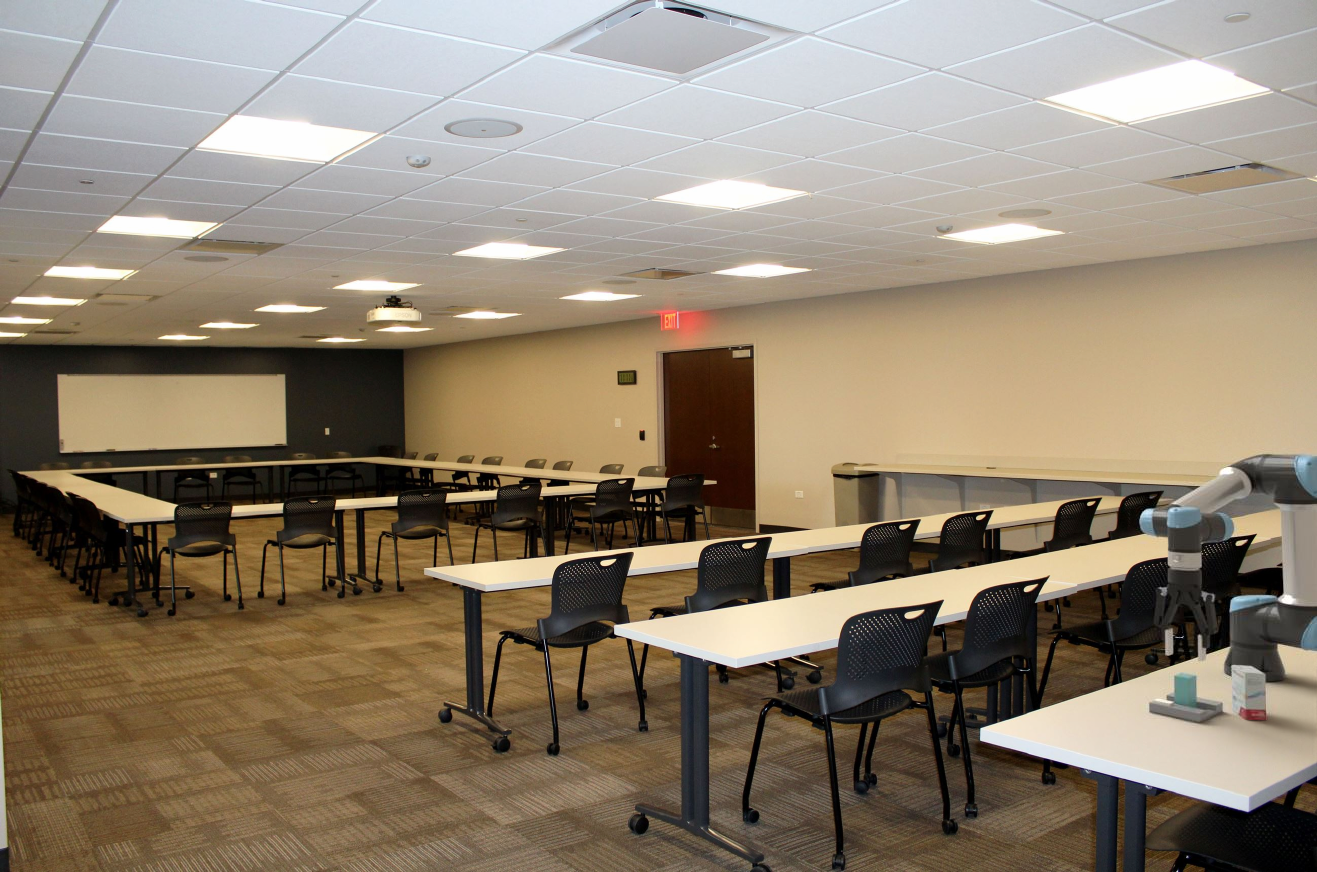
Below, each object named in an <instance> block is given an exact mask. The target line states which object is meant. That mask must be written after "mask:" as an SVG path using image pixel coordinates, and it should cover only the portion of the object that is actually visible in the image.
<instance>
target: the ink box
mask: <svg viewBox="0 0 1317 872" xmlns="http://www.w3.org/2000/svg"><path fill="white" fill-rule="evenodd" d="M1266 682H1267V681H1266V678H1265V674H1264V673H1262V672H1261V671H1259V670H1257V669H1256V668H1254V667H1252V666H1242V665H1232V676H1231V710H1232V711H1233V712H1235V713H1236V714H1237V715H1239V716H1240V717H1242V718H1243V719H1245V720H1247V721H1267V696H1266V695H1267V691H1266V690H1267V689H1266V688H1267V687H1266V685H1267V683H1266Z"/></svg>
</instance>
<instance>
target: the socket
mask: <svg viewBox="0 0 1317 872" xmlns="http://www.w3.org/2000/svg"><path fill="white" fill-rule="evenodd" d="M1223 707H1224V703H1223V701H1218V700H1212V699H1207V698H1202V697H1198V696H1197V708H1193V707H1188V706H1183V705H1179V704H1174V692H1171V693H1169V694H1166V699H1162V698H1156V699H1154V700H1152V701H1150V702H1148V708H1149V709H1148V710H1149V713H1152V714H1156V715H1161V716H1166V717H1170V718H1174V719H1179V720H1182V721H1183V720H1184V721H1189V722H1192V723H1197V724H1201V723H1203V722H1205V721H1207V720H1209V719H1211V718H1214V717H1215V716H1217V715H1219V714H1221V713H1223V712H1224V711H1223V710H1224V708H1223Z"/></svg>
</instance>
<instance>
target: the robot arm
mask: <svg viewBox="0 0 1317 872" xmlns="http://www.w3.org/2000/svg"><path fill="white" fill-rule="evenodd" d="M1254 495H1261V496H1263V495H1265V496H1273V504H1274V505H1275V506H1276V507H1278V508H1279V509H1280V527H1281V528H1280V529H1281V530H1280V531H1281V555H1282V558H1281V559H1282V580H1283V593H1282V595H1280V596H1279V597H1277V596H1275V595H1269V594H1266V595H1265V594H1255V595H1254V594H1251V595H1250V594H1249V595H1238V596H1235V597H1233V598H1232V599H1231V600H1230V606H1229V607H1230V608H1229V618H1230V619H1229V622H1230V625H1229V626H1230V627H1229V628H1230V634H1229V635H1230V647H1229V649H1228V652H1227V655H1226V657H1225V659H1224V663H1223V673H1225V674H1226V675H1228V676H1230V677H1232V665H1242V666H1252V667H1254V668H1256V669H1257V670H1259V671H1261V672H1262V673H1264V674H1265V678H1266V682H1280V681H1284V680H1285V679H1286V669H1285V666H1284V664H1283V661H1282V658H1281V656H1280V653H1279V647H1278V646H1279V645H1283V646H1286V647H1291V648H1295V649H1302V650H1304V651H1312V652H1317V455H1312V454H1311V455H1310V454H1273V453H1262V454H1256V455H1252V456H1249V457H1246V458H1243V459H1241V460H1239V461H1236V462H1235V463H1232V464H1230V465H1228V466H1226V467H1224V468H1223V469H1221V470H1220V471H1219V472H1218V475H1217V476H1216V477H1215V478H1213V479H1211V480H1210V481H1208V482H1206V483H1203V484H1202V485H1201V486H1199V487H1197V488H1196V489H1193V490H1192V491H1190V492H1189V493H1187V494H1185V495H1183V496H1182V497H1180V498H1178V499H1176V500H1175V501H1173V502H1171V503H1169V504H1168V505H1165V506H1164V507H1162V508H1156V507H1155V508H1146V509H1145V510H1144V511H1142V513H1141V515H1140V518H1139V526H1140V530H1141V531H1142V533H1143V534H1145V535H1146V536H1152V537H1156V538H1167V565H1168V566H1169V568H1167V583H1168V584H1167V586H1166V587H1161V586H1160V587H1157V588H1155V590H1154V591H1155V595H1156V601H1155V606H1154V607H1155V608H1154V618H1153V625H1154V626H1156V627H1159V628H1160V630H1161V642H1164V648H1165V650H1164V651H1165V654H1164V655H1165V656H1171V655H1174V629H1173V628H1171V625H1172V623H1173V619H1174V617H1175V614H1176V613H1177V610H1178V608H1179V606H1180V605H1185V606H1188V607H1189V609H1190V610H1191V611H1192V613H1193V616H1194V619H1195V621H1196V624H1197V626H1198V628H1199V631H1200V633H1199V634H1198V635H1197V654H1198V655H1197V657H1198V658H1197V660H1198V662H1203V661H1206V660H1207V649H1209V648H1210V645H1211V642H1210V640H1211V638H1210V636H1211V635H1214V634H1217V633H1218V632H1219V627H1218V620H1217V613H1216V608H1215V606H1216V605H1215V601H1216V594H1215V593H1213V592H1212V593H1208V592H1207V591H1204V590H1203V587H1202V585H1203V578H1202V577H1203V575H1202V574H1203V572H1202V569H1201V568H1202V561H1203V560H1202V544H1207V543H1220V542H1224V541H1227V540H1229V539H1231V538H1232V536H1233V534H1234V532H1235V524H1234V521H1233V519H1232V518H1231V517H1230V516H1229V515H1227V514H1226V513H1222V512H1215V511H1217V510H1219V509H1220V508H1222V507H1224V506H1225V505H1227V504H1229V503H1231V502H1232V501H1234V500H1241V499H1245V498H1246V497H1248V496H1254ZM1167 595H1169V596H1170V598H1171V600H1170V602H1169V606H1168V608H1167V610H1166V613H1165V607H1166V606H1165V605H1166V596H1167ZM1201 598H1203V601H1204V607H1205V613H1206V615H1205V614H1204V612H1203V610H1202V608H1201V607H1202V605H1201V603H1200V601H1199V600H1200V599H1201ZM1164 613H1165V615H1164ZM1205 617H1206V618H1205Z"/></svg>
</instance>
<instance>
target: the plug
mask: <svg viewBox="0 0 1317 872" xmlns="http://www.w3.org/2000/svg"><path fill="white" fill-rule="evenodd" d="M1173 677H1174V678H1173V680H1174V681H1173V684H1174V685H1173V686H1174V687H1173V688H1174V704H1179V705H1183V706H1188V707H1193V708H1197V697H1198V696H1197V694H1198V693H1197V692H1198V691H1197V689H1198V688H1197V674H1191V673H1185V672H1180V673H1177V674H1175V675H1174V676H1173Z"/></svg>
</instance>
